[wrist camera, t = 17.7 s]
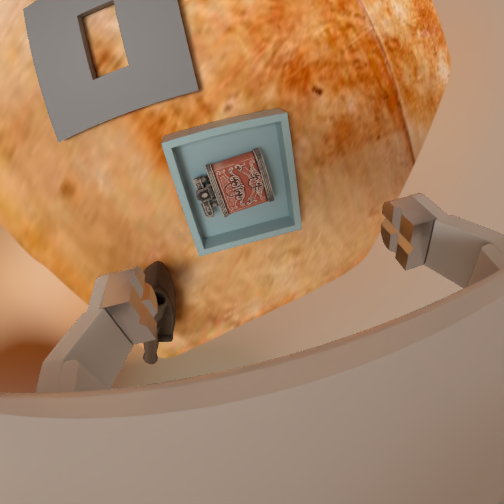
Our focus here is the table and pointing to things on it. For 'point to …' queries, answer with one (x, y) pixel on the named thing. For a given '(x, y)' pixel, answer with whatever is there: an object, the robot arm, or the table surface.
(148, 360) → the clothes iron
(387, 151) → the table surface
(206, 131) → the parts tray
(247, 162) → the lighter
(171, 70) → the gray plate with hole
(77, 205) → the table surface
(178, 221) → the table surface
